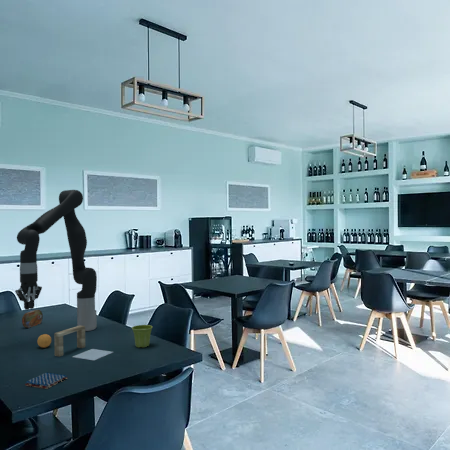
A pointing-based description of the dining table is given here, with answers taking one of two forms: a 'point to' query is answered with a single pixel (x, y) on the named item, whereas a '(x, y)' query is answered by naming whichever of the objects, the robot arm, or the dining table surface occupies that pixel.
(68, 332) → the bridge
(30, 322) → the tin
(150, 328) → the plant pot
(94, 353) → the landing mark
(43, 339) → the ball
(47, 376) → the woven mat
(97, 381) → the dining table surface
